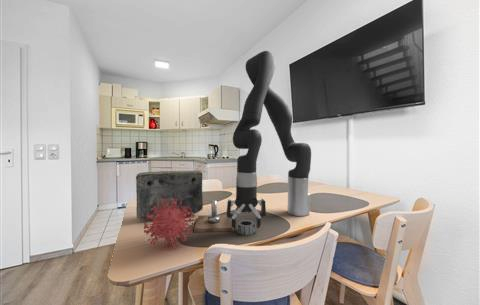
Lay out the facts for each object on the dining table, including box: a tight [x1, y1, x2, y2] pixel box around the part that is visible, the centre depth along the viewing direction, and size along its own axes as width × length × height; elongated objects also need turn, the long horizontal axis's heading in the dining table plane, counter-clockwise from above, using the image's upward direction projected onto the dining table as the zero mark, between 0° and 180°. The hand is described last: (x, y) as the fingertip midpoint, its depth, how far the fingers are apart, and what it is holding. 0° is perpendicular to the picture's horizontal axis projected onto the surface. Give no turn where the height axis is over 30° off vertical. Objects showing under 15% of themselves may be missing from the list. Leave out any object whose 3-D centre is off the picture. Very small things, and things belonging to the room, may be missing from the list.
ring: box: [236, 219, 256, 237], centre depth 74 cm, size 6×6×3 cm
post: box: [208, 199, 220, 224], centre depth 81 cm, size 5×5×8 cm
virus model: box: [143, 198, 195, 250], centre depth 63 cm, size 15×15×15 cm
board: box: [193, 214, 233, 233], centre depth 81 cm, size 14×14×1 cm
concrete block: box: [135, 169, 204, 220], centre depth 88 cm, size 27×9×20 cm, turn 110°
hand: (245, 227), depth 74 cm, fingers open, 8 cm apart
